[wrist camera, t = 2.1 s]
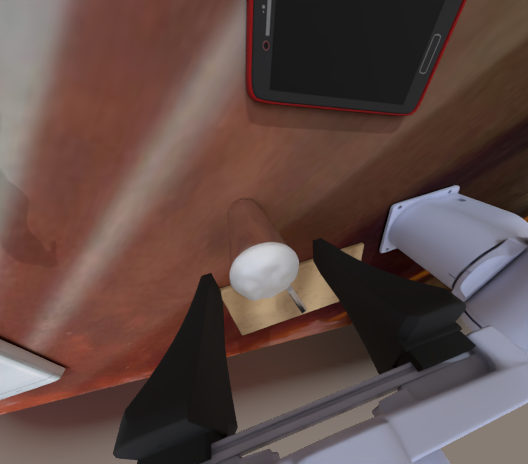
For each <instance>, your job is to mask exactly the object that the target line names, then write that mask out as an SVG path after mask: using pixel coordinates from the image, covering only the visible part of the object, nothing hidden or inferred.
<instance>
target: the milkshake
mask: <svg viewBox="0 0 528 464" xmlns="http://www.w3.org/2000/svg"><path fill="white" fill-rule="evenodd" d="M228 223H229V244H230V283H231V285H232V287H233V289H234V290H235V291H236V292H238V293H239V294H241V295H242V296H244V297H246V298H247V299H249V300H251V301H256V300H259V299H264V298H272V297H274V296H275V295H277V294H279V293H280V292H282V291H284V290H285V289H286V290H287V292H288V293H289V295H290V296H291V298H292V299H293V301H294V302H295V304H296V306H297V307H298V309H299V310H300V312H301V313H302V314H303V313H304V312H305V311H307V309H306V307H305V306H304V304H303V303H302V301H301V300H300V298H299V297H298V295H297V294H296V292H295V291H294V289H293V288H292V286H291V285H290V284H291V283H292V282H293V281H294V280H295V278H296V277H297V274H298V270H299V260H298V257H297V255H296V253H295V252H294V251H293V249H292V248H291V247H290V245H289V244H288V243H287V242H286V240H285V239H284V238H283V237H282V235H281V234H280V233H279V232H278V230H277V229H276V228H275V226H274V225H273V223H272V222H271V221H270V219H269V218H268V216H267V215H266V214H265V212H264V211H263V210H262V208H261V207H260V206H259V205H258V204H257V203H256V202H255V201H254V200H252V199H240V200H239V201H237V202H235V203H233V204H232V206H231V208H230V210H229V212H228Z"/></svg>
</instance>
